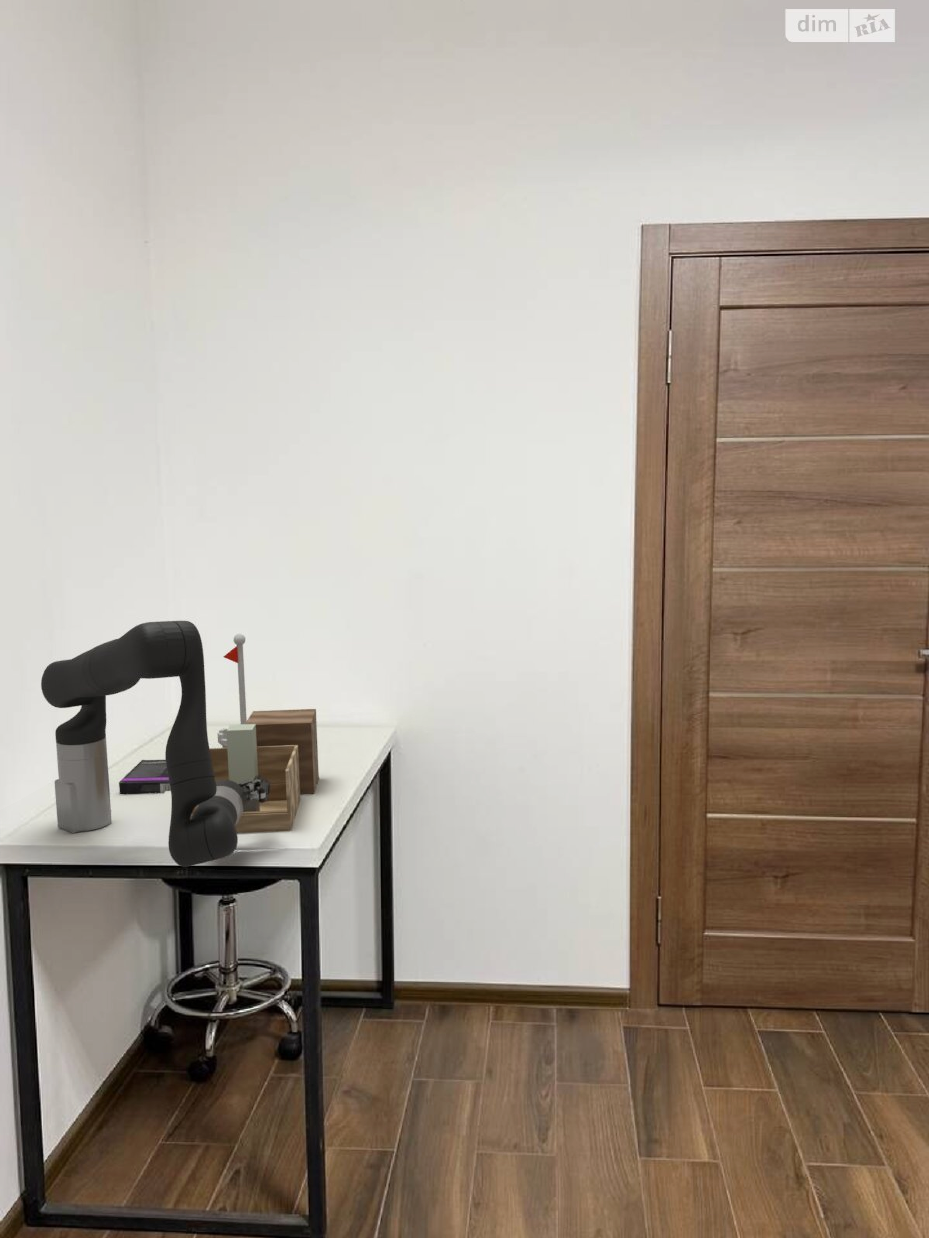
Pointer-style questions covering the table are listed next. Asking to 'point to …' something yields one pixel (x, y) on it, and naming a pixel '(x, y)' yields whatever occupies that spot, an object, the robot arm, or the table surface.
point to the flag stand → (237, 657)
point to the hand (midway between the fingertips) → (235, 781)
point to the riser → (291, 739)
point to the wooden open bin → (284, 787)
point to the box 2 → (243, 758)
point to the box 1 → (146, 778)
